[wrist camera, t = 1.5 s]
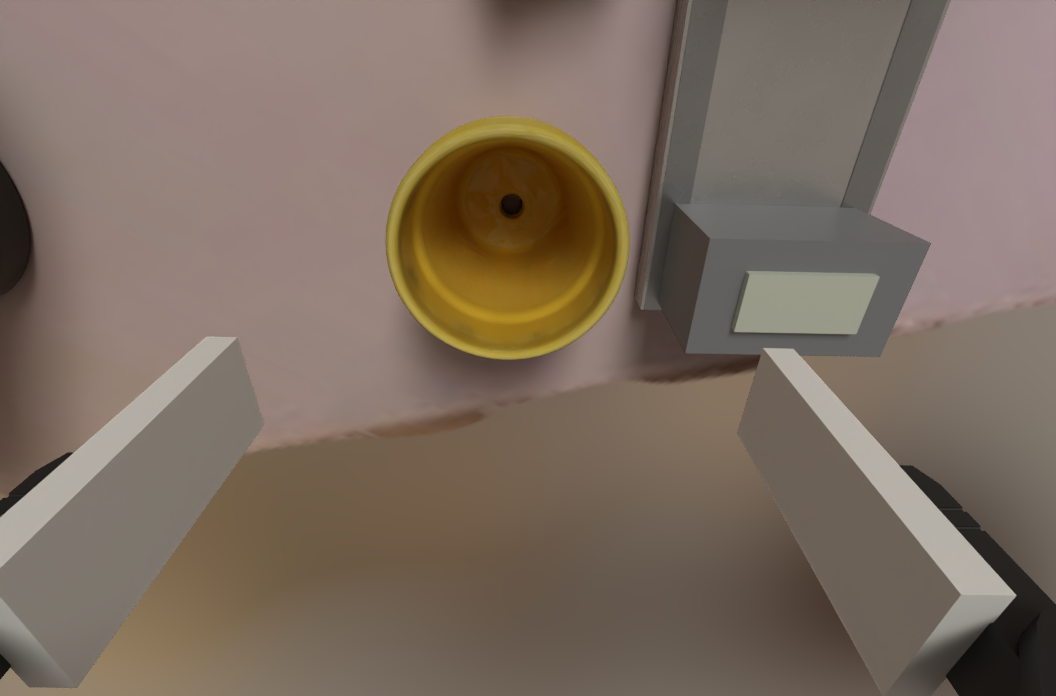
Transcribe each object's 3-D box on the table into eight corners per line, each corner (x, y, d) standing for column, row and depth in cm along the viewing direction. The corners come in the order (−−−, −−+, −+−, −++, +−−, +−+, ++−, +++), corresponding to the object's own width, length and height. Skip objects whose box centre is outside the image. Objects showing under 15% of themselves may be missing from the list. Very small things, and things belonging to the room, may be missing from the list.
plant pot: (623, 243, 31) (661, 315, 22) (472, 304, 33) (455, 391, 24) (561, 66, 26) (579, 72, 17) (389, 150, 28) (330, 193, 19)
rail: (634, 296, 32) (640, 310, 31) (724, -322, 19) (744, -361, 17) (816, 299, 33) (833, 313, 31) (1030, -309, 19) (1081, -346, 18)
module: (658, 302, 30) (687, 357, 25) (675, 203, 27) (713, 241, 22) (819, 305, 31) (884, 361, 25) (854, 207, 28) (937, 246, 22)
